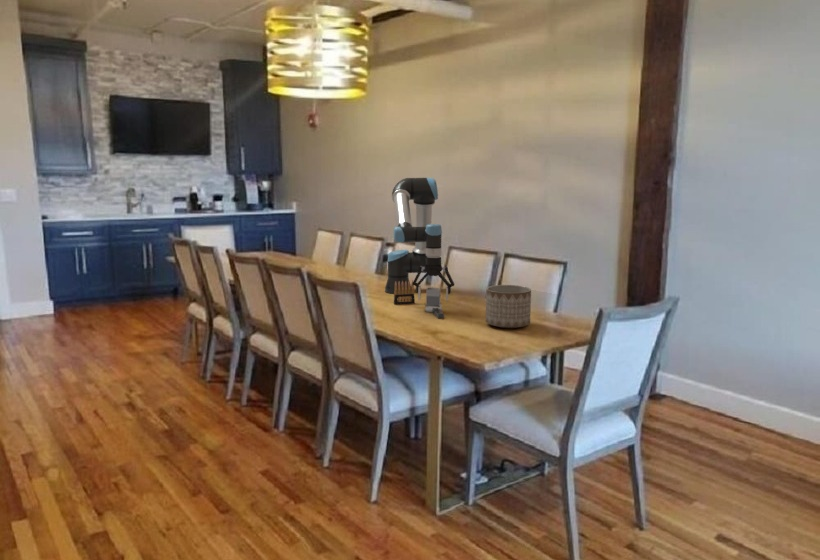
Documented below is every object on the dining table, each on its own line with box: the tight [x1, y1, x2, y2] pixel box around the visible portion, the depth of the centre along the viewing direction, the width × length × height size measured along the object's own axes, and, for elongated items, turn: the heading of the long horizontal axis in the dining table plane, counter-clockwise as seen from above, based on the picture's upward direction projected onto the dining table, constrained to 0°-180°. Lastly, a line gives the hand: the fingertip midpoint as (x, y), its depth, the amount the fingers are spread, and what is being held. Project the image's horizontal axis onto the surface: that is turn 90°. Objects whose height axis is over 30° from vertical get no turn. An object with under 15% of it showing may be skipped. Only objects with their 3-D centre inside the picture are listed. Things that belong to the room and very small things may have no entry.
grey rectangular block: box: [425, 287, 441, 307], centre depth 299 cm, size 6×6×8 cm
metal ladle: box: [424, 303, 445, 320], centre depth 294 cm, size 20×8×6 cm, turn 11°
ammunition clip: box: [393, 279, 416, 306], centre depth 317 cm, size 11×2×12 cm, turn 104°
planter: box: [485, 284, 532, 329], centre depth 271 cm, size 19×19×16 cm
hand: (433, 300), depth 300 cm, fingers open, 13 cm apart
